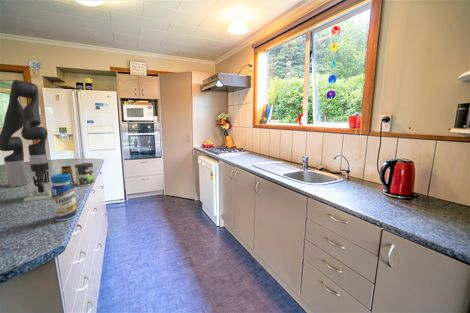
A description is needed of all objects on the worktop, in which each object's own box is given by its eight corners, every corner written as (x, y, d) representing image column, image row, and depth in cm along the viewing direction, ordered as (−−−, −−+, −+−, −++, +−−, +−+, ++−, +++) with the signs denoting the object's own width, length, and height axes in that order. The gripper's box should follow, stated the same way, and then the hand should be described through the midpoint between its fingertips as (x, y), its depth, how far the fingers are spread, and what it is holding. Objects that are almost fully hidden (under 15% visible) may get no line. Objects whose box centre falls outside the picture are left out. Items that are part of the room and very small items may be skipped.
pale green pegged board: (23, 201, 117) (22, 193, 116) (33, 195, 127) (32, 187, 126) (55, 198, 122) (54, 190, 121) (62, 192, 132) (61, 185, 131)
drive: (58, 189, 128) (56, 179, 127) (54, 192, 123) (52, 182, 122) (33, 191, 124) (31, 181, 123) (28, 194, 120) (26, 184, 119)
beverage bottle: (74, 211, 104) (69, 171, 100) (80, 216, 98) (75, 174, 95) (52, 217, 97) (46, 175, 94) (57, 223, 92) (50, 178, 89)
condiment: (60, 183, 152) (58, 166, 150) (73, 180, 159) (71, 164, 157) (65, 184, 149) (63, 167, 147) (79, 181, 156) (77, 165, 154)
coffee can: (98, 182, 153) (96, 163, 151) (85, 186, 143) (83, 166, 141) (86, 181, 155) (84, 162, 153) (73, 185, 145) (70, 165, 143)
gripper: (41, 164, 116) (46, 194, 119) (52, 159, 129) (56, 186, 132) (24, 165, 113) (29, 195, 116) (36, 160, 126) (40, 188, 129)
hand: (43, 190), depth 124 cm, fingers closed on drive, 5 cm apart
